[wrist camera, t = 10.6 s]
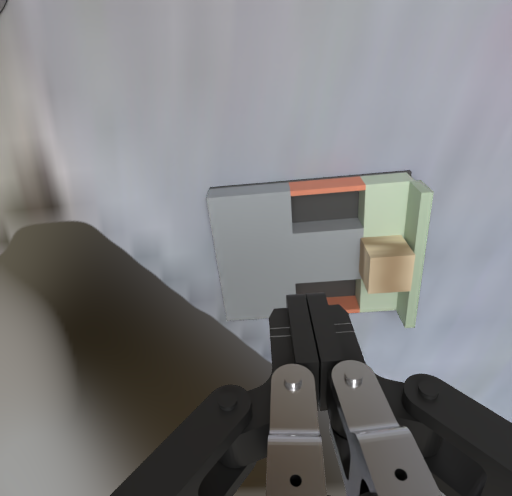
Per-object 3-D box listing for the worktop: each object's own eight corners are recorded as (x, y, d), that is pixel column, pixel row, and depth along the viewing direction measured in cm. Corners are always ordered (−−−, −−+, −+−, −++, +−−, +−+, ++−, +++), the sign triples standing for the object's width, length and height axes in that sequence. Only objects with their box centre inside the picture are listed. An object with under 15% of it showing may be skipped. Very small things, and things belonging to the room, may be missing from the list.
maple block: (358, 271, 40) (368, 293, 37) (360, 237, 38) (370, 258, 35) (397, 268, 40) (410, 291, 36) (401, 234, 38) (415, 254, 35)
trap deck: (228, 304, 46) (224, 339, 41) (209, 187, 39) (201, 211, 34) (396, 293, 45) (414, 327, 40) (409, 170, 38) (433, 191, 33)
